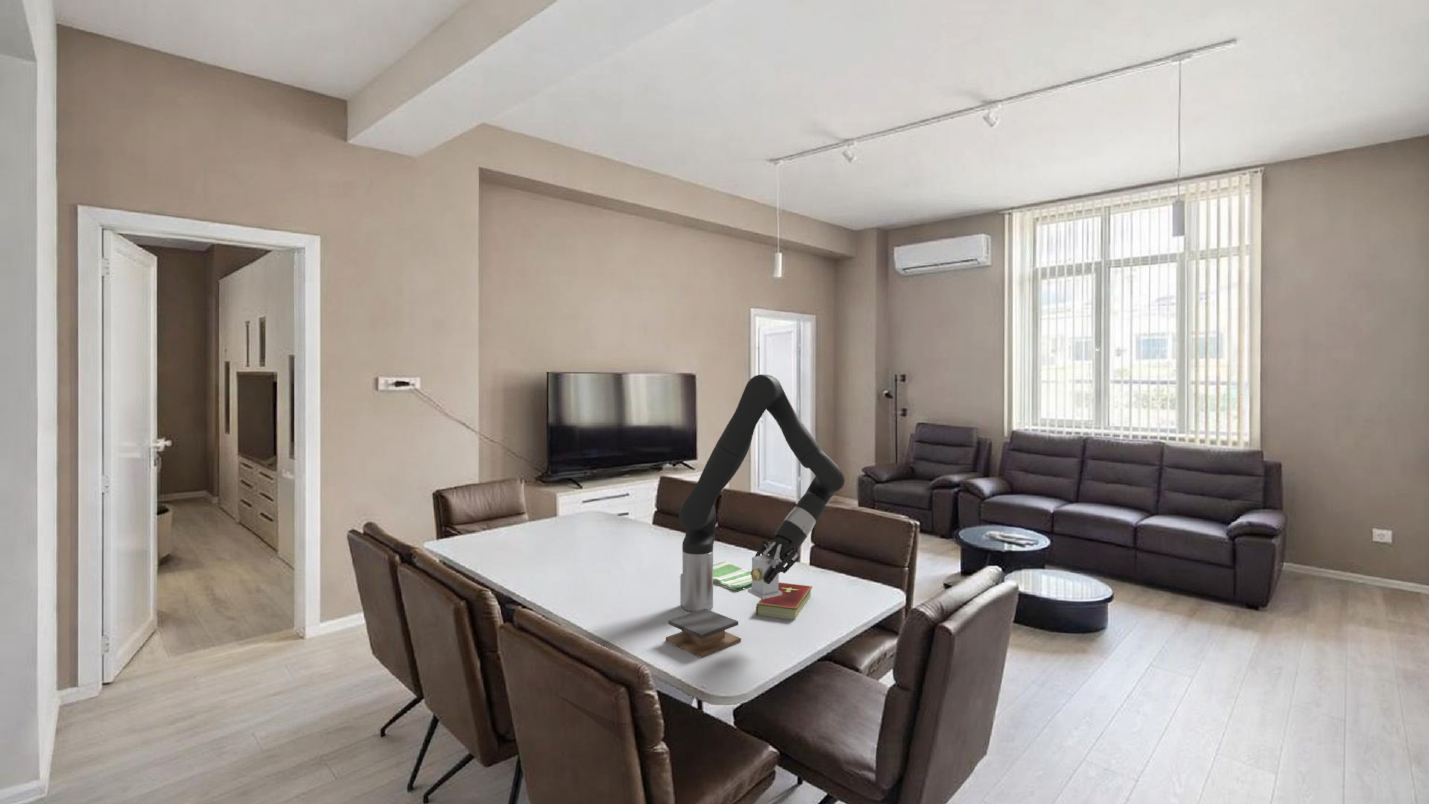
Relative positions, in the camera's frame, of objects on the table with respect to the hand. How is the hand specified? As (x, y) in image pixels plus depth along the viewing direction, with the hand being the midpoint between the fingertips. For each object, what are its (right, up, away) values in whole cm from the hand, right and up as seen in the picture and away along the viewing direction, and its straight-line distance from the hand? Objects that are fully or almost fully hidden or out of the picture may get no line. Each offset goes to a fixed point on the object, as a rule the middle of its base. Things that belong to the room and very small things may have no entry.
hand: (759, 578), depth 172 cm
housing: (+1, -4, +1) cm, 5 cm away
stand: (-15, -17, +1) cm, 22 cm away
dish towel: (-6, -15, +55) cm, 57 cm away
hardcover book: (+10, -16, +28) cm, 34 cm away
